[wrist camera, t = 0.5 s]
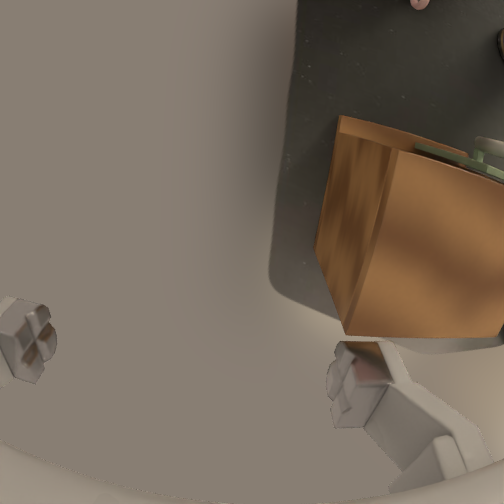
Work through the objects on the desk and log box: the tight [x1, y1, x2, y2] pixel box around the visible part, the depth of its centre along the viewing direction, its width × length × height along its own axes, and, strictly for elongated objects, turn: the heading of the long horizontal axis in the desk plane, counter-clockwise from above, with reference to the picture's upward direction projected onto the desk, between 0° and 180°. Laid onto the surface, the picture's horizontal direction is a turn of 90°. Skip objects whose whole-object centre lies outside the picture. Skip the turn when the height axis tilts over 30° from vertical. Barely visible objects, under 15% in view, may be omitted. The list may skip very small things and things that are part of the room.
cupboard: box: [313, 115, 504, 338], centre depth 24 cm, size 14×15×14 cm
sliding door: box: [415, 136, 504, 180], centre depth 21 cm, size 3×6×11 cm, turn 82°
